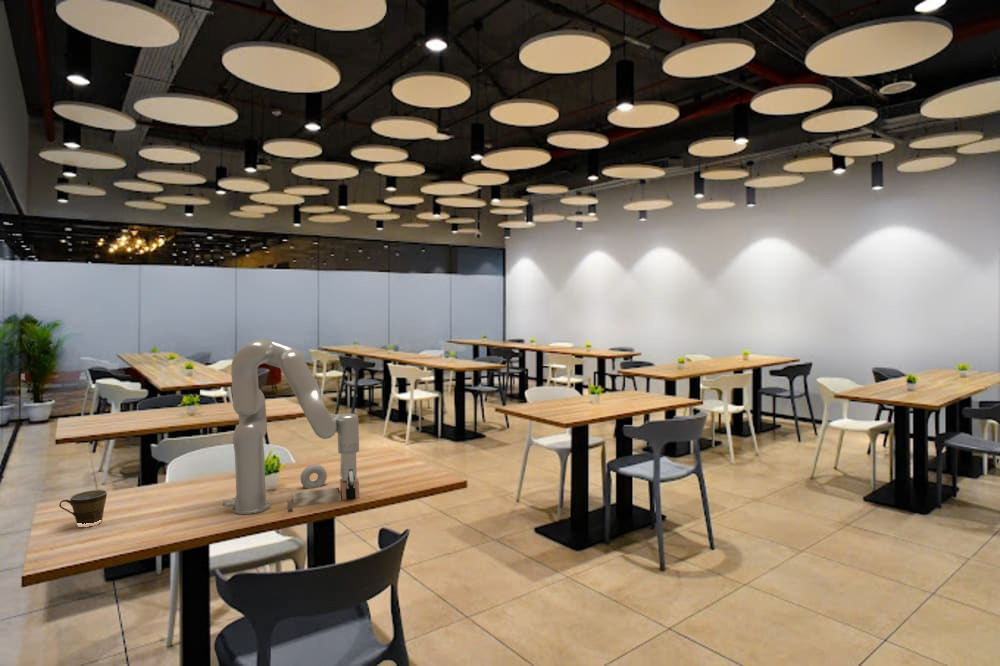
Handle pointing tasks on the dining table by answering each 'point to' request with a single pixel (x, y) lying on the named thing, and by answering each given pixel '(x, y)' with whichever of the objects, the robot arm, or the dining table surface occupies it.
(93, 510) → the ceramic cup
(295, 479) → the dining table surface
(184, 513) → the dining table surface
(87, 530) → the dining table surface
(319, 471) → the donut
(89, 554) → the dining table surface
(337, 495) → the board
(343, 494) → the taped shipping carton
